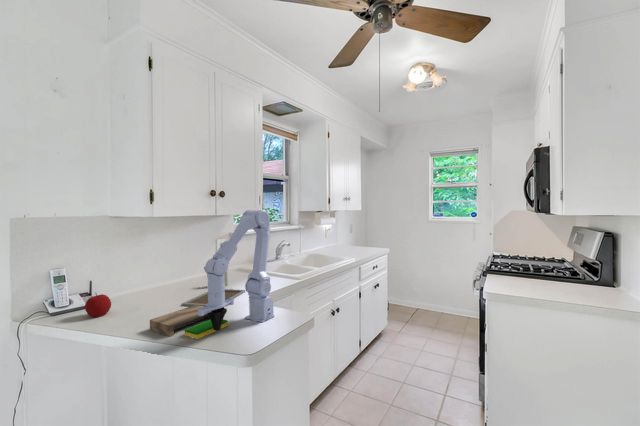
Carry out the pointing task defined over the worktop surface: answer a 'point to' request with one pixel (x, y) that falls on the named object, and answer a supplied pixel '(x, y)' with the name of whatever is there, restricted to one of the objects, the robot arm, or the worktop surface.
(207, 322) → the dish sponge
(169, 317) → the low shelf
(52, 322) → the worktop surface
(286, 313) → the worktop surface
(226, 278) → the skincare box
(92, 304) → the apple
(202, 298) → the grey flat tray
